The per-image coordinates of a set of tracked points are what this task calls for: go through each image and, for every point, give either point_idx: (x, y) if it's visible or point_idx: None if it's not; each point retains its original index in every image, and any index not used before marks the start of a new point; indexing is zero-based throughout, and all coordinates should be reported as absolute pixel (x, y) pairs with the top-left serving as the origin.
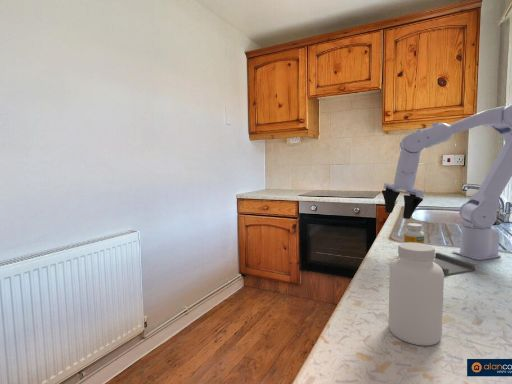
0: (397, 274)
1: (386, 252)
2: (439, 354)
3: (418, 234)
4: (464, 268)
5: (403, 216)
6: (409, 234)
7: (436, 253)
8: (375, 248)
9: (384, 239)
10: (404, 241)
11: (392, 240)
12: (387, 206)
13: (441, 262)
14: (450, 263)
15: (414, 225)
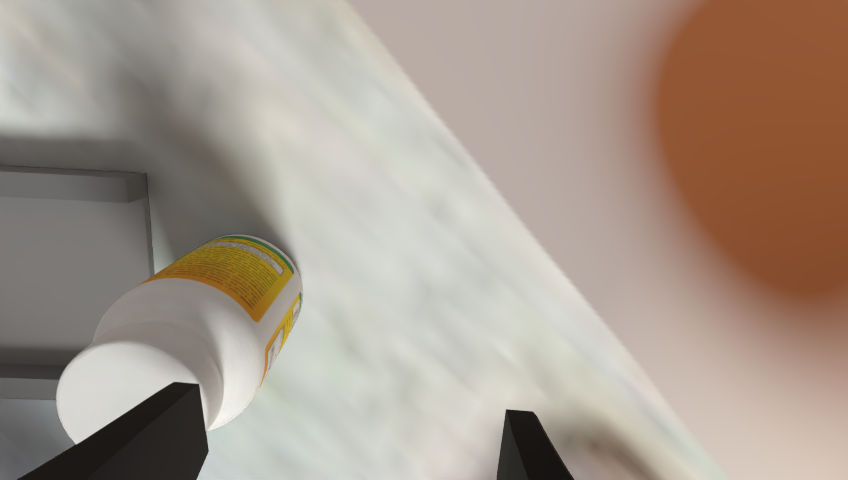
0: None
1: (367, 180)
2: None
3: (93, 339)
4: None
5: (179, 391)
6: (147, 288)
7: None
8: (476, 179)
9: (619, 398)
10: (238, 268)
11: (573, 426)
12: (522, 476)
13: (55, 314)
14: (27, 345)
15: (90, 375)
